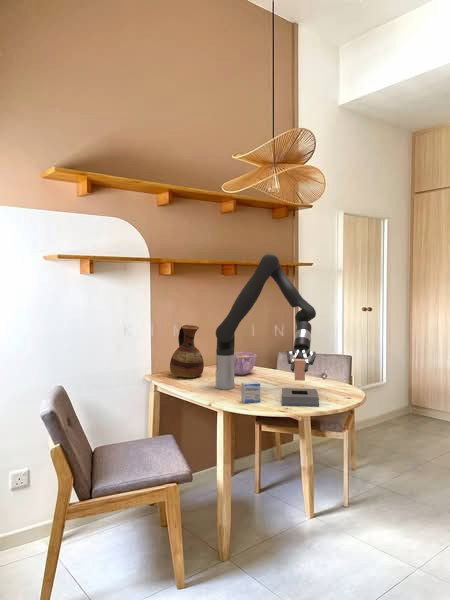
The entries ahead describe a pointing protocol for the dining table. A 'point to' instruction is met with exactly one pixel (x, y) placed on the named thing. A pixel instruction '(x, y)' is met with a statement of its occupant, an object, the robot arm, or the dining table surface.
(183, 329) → the ceramic pitcher
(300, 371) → the square peg
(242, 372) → the bowl of food
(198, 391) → the dining table surface
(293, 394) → the square hole block
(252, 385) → the medicine box
